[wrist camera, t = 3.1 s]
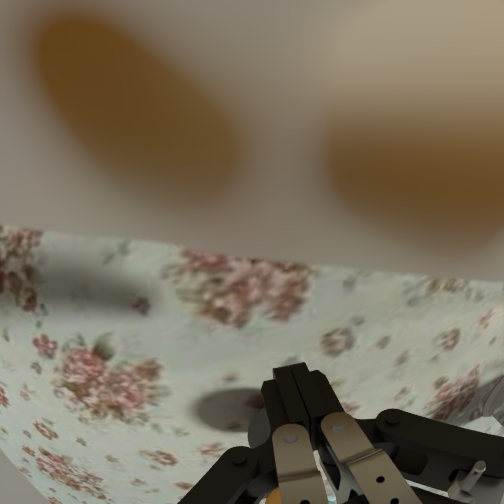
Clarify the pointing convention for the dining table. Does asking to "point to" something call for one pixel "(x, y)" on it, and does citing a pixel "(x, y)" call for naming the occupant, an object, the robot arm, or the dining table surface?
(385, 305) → the dining table surface
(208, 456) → the dining table surface
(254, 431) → the charcoal ball
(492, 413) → the french press
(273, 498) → the orange ball
